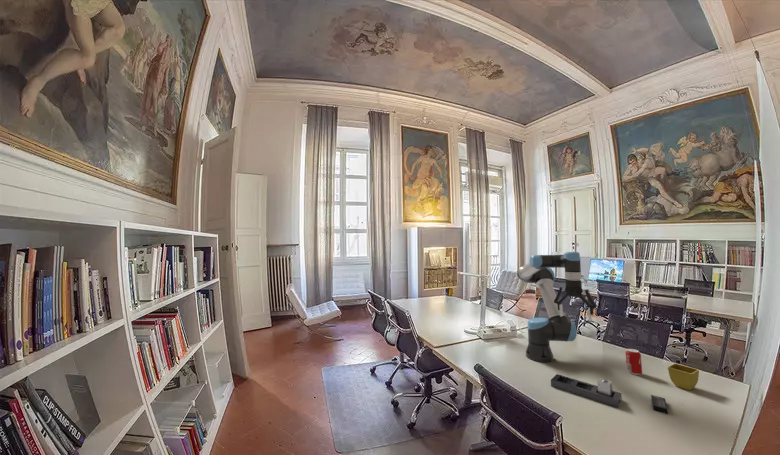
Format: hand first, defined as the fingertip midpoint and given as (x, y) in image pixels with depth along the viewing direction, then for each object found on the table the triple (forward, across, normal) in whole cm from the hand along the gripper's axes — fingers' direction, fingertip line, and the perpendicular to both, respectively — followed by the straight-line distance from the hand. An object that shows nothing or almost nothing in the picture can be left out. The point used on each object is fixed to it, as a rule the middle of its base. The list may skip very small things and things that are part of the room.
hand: (575, 318), depth 155 cm
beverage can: (+29, +21, +19) cm, 41 cm away
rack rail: (+29, +8, -23) cm, 38 cm away
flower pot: (+29, +40, +17) cm, 52 cm away
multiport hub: (+29, +33, -14) cm, 46 cm away
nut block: (+29, +16, -23) cm, 40 cm away
